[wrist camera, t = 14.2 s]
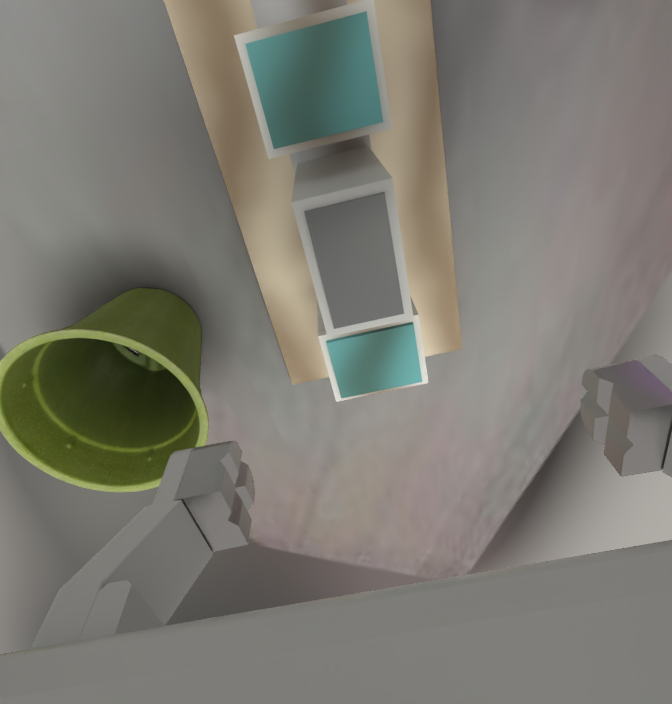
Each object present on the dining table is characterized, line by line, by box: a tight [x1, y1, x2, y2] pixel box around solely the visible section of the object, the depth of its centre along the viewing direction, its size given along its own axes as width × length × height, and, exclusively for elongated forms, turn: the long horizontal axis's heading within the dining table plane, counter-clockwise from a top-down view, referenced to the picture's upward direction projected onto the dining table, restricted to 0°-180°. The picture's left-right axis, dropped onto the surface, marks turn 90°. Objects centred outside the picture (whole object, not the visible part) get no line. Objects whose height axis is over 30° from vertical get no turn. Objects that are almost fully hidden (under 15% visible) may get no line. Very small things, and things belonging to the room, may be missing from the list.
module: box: [291, 146, 414, 337], centre depth 26 cm, size 4×7×10 cm, turn 12°
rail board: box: [164, 0, 462, 402], centre depth 28 cm, size 14×26×9 cm, turn 12°
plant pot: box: [0, 288, 209, 492], centre depth 31 cm, size 12×12×11 cm
